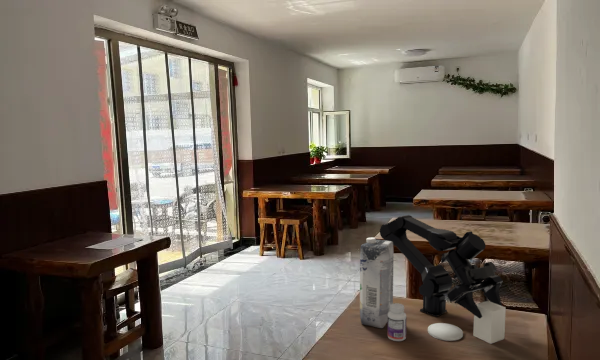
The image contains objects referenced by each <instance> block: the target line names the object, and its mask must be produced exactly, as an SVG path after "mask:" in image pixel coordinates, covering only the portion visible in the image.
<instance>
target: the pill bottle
mask: <svg viewBox="0 0 600 360" xmlns="http://www.w3.org/2000/svg"><path fill="white" fill-rule="evenodd" d="M406 313H407V312H405V306H404V304H402V303H398V302H395V303H394V302H393V304H391V305H390V312H389V313H388V322H387V338H388V339H389V340H391V341H392V342H393V341H394V342H402V341H404V340H406V338H407V314H406Z"/></svg>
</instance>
